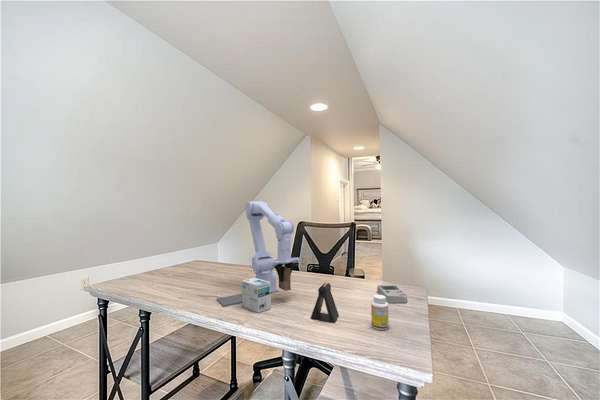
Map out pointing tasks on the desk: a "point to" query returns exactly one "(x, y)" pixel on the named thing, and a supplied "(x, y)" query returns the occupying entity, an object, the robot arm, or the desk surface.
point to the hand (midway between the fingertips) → (284, 281)
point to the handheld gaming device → (392, 293)
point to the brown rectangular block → (286, 280)
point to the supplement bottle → (380, 312)
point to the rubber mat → (230, 300)
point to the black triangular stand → (330, 305)
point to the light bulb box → (256, 294)
